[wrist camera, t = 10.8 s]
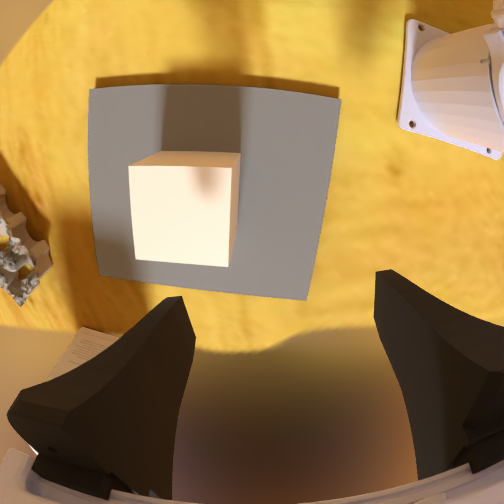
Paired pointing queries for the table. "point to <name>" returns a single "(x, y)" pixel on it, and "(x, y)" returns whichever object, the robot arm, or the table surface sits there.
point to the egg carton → (20, 254)
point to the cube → (185, 206)
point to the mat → (250, 183)
